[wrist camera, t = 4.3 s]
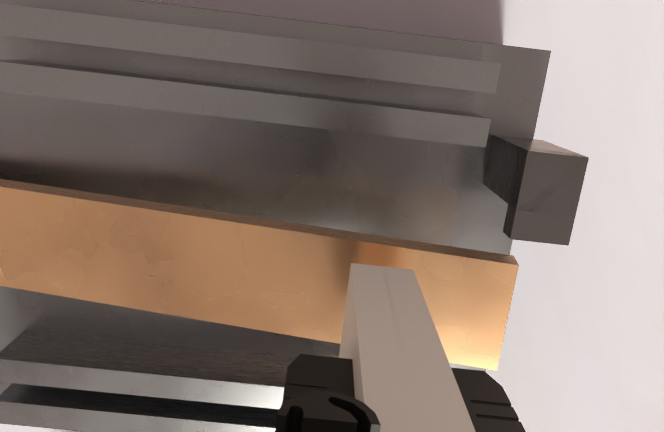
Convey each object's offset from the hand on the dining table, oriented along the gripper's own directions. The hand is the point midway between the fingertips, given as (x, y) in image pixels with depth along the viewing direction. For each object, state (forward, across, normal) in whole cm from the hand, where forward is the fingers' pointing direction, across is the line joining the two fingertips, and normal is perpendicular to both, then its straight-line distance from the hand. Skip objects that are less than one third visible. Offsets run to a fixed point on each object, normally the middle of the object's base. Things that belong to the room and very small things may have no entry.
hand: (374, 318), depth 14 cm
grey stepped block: (+10, -5, 0) cm, 12 cm away
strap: (+4, -6, 0) cm, 7 cm away
